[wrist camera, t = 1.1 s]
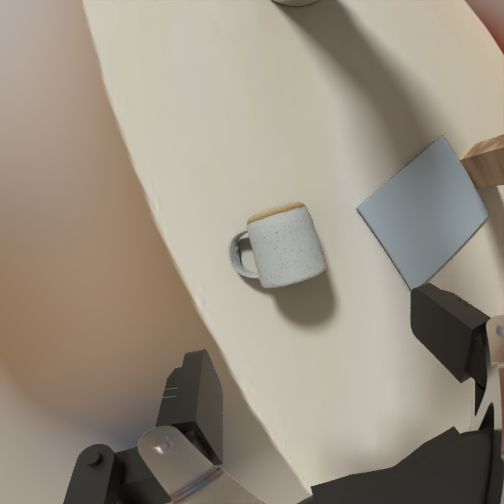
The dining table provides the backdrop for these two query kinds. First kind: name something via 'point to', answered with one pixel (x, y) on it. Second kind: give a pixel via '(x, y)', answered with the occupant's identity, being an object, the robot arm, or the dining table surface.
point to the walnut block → (486, 162)
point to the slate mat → (425, 212)
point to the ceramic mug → (281, 246)
